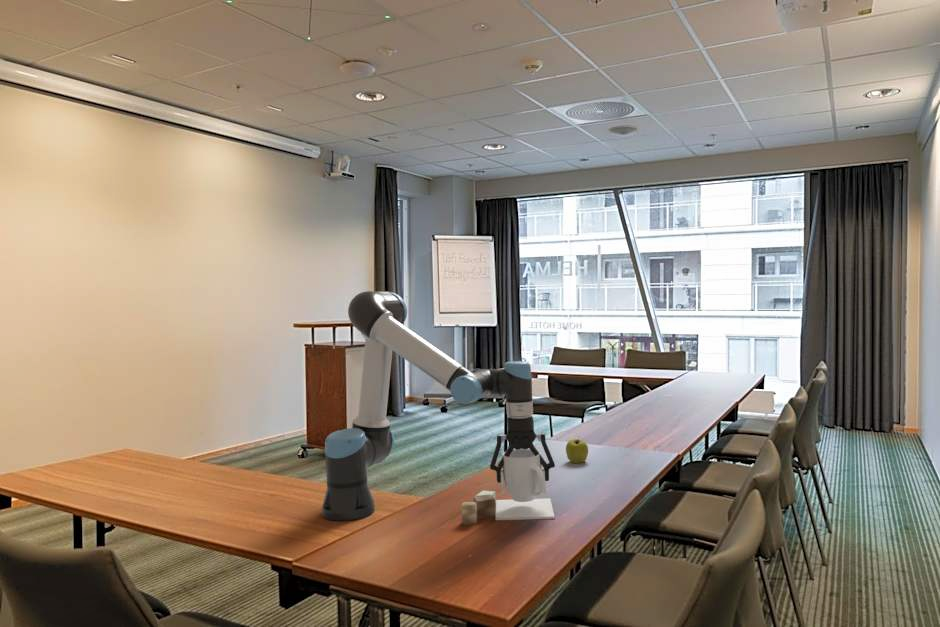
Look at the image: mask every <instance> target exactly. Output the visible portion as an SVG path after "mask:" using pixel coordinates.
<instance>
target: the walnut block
mask: <svg viewBox="0 0 940 627" xmlns="http://www.w3.org/2000/svg"><path fill="white" fill-rule="evenodd" d="M473 502H475V503H476V506H477V520H481V519H492V518H496V505H495V499H494V498H493V496H492V495H491V494H489V495H479V496H476V495H474V496H473Z"/></svg>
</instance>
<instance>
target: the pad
mask: <svg viewBox="0 0 940 627" xmlns="http://www.w3.org/2000/svg"><path fill="white" fill-rule="evenodd" d="M552 504H553V503H552V500H551V498H549V497H548V498H535V499H534V500H532V501H528V502H517V501H514V500H513V499H512V498H511V499H496V505H495V512H496V517H495V521H513V520H515V521H518V520H519V521H520V520H522V521H523V520H551V519H553V520H554V519H555V513H554V510H553V505H552Z"/></svg>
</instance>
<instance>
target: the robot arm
mask: <svg viewBox="0 0 940 627" xmlns="http://www.w3.org/2000/svg"><path fill="white" fill-rule="evenodd" d="M347 313H348V314H347V315H348V318H349V321H350V323H351V324H352V326H353V327H354V328H355V329H356V330H357V331H359V332H360V334H361V335H362V337H363V338H364V339H365V340H364V341H365V342H364V352H363V363H362V372H361V374H362V375H361V381H360V382H361V383H360V385H361V386H360V396H359V404H358V415H357V416H356V417H355V418H354V419H353V420H352V425H351V428H343V429H342V430H339V429H338V430H336V431H333V432H332V433H329V435H327V437H326V438H325V441H324V446H325V447H324V454H325V471H326V491H325V495H324V498H323V503H322V505H321V516H322V517H323V518H324V519H325V520H330V521H336V522H337V521H339V522H340V521H353V520H358V519H362V518H365V517H368V516H370V515H372V514H373V513H374V512H375V510H376V508H375V506H376V505H375V500H374V497H373V495H372V492H371V489H370V487H369V483H368V468H371V467H372V466H374V465H376V464H377V465H378V464H379V463H381V462H383V461H385V460H386V458H388V457H389V456H390V455H391V454H392V452H393V449H394V446H395V437H394V433H393V432H392V431H391V430H392V429H391V422H390V421H389V419H388V418H387V413H388V411H387V410H388V401H389V393H390V392H389V391H390V390H389V389H390V383H391V382H390V381H391V380H390V379H391V371H392V370H391V369H392V359H393V352H394V353H396V354H397V355H399V356H400V357H402V359H404V360H406V361H407V362H409V363H410V364H411V365H413V366H414V367H415V368H417V369H418V370H420V371H421V372H422V373H424V374H425V375H427V376H428V377H430V378H431V379H433V380H434V381H435V382H437V383H438V384H440V385H441V386H442V387H444V388H445V389H447V391H449V392H450V395H451V397H452V398H453V400H454V401H455V402H456V403H458V404H462V405H468V404H474V403H476V402H477V401H478V400H480V399H483V398H485V397H487V396H505V405H506V406H505V409H506V415H507V417H506V430H507V432H506V434H500V433H498V434H497V435H496V445H495V448H494V452H493V454H492V458H491V461H490V464H489V469H490V470H492V471H495V472H496V481H497V482H496V483H500V484H501V486H500V489H501V491H500V492H501V496H504V495H505V480H504V474H503V466H504V457H503V458H502V457H501V459H500V460H499V462H498V464H496V463H497V460H498V458H499V454H500V451H501V447H502V444H503V443H504V442H505V440H506V441H507V442H508V443H509V445H508V447H507V449H506V450H505V451H504V452H505V454H504V456H506V457H509V456H510V454H511V452H512V451H513V450H515V449H516V450H518V449H530V450H531V451H532V452H533V454H534V455H535V456H537V455H539V452H540V451H539V450H537V448H536V447H535V445H534V441H535V440H536V439H537V440H538V442H540V443H541V445H542V448H543V450H544V453H545V455H546V458H547V460H548V463H547V462H546V460H545V459H544V458H543V456H542V455H541V456H540V463H541V467H543V468H542V471H543V474H544V477H545V482H549V480H550V472H549V470H550V469H552V468H555V467H556V464H555V462H554V459H553V457H552V454H551V452H550V449H549V447H548V445H547V442H546V441H547V440H546V434H545V433H544V432H541V433H536V432H535V429H534V428H535V426H534V416H533V414H534V407H533V406H534V405H533V404H534V402H533V401H534V400H533V380H532V379H533V376H532V369H531V364H530V362H528V361H525V360H524V361H523V360H517V361H507V362H505V363H504V366H503V368H474V369H468V368H466V367H464V366H463V365H462V364H460V363H459V362H457V361H456V360H454V359H453V358H451V357H450V356H448V355H447V354H446V353H444V351H441V350H440V349H439V348H437V347H436V346H434V345H432V344H431V343H430V342H428V341H427V340H425V339H424V338H423V337H421V336H420V335H418V334H417V333H415V332H414V331H412V330H411V329H410V328H408V327H407V326H405V325H404V323H405V322H406V320H407V316H408V315H407V314H408V308H407V305H406V302H405V301H404V299H403V298H402V297H401V296H400V295H399V294H397V293H396V292H391V291H387V290H377V291H375V290H374V291H373V290H372V291H369V290H368V291H362V292H360V293H358V294H355V296H354V297H353V298H352V299H351V300H350V303H349V306H348V309H347ZM538 451H539V452H538ZM546 493H547V491H546V486H545V491H544V493H543V494H542V495H544V494H546Z"/></svg>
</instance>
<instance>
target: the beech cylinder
mask: <svg viewBox="0 0 940 627" xmlns="http://www.w3.org/2000/svg"><path fill="white" fill-rule="evenodd" d="M461 518H462V519H461V520H462V522H461V523H462V524H463V525H466V526H471V525H472V526H473V525H475V524H477V523H478V518H477V506H476V503H475V502H474V501H465V502H462V503H461Z"/></svg>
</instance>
